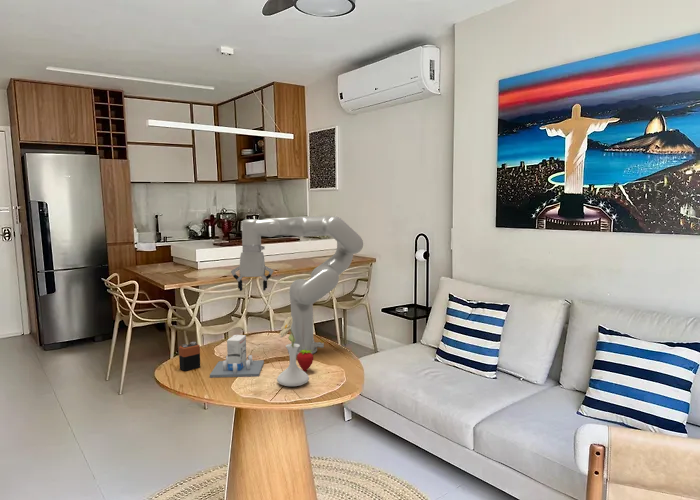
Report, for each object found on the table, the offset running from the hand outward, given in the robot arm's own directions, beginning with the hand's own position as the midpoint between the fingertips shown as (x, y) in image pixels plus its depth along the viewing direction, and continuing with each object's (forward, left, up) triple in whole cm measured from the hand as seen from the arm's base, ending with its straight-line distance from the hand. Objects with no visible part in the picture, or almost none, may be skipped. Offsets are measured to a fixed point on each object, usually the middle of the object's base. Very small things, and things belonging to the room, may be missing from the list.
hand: (252, 290), depth 199 cm
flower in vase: (-18, +33, -28) cm, 47 cm away
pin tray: (+4, +16, -28) cm, 33 cm away
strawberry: (-22, +20, -28) cm, 41 cm away
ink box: (+4, +16, -28) cm, 32 cm away
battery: (+23, +13, -28) cm, 39 cm away
